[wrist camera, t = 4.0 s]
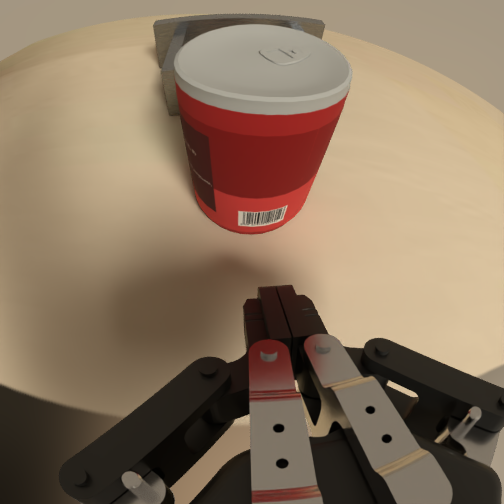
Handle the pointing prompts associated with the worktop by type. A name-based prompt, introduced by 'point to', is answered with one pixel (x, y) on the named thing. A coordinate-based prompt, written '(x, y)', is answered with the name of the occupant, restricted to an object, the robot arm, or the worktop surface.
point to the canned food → (257, 120)
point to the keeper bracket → (187, 28)
